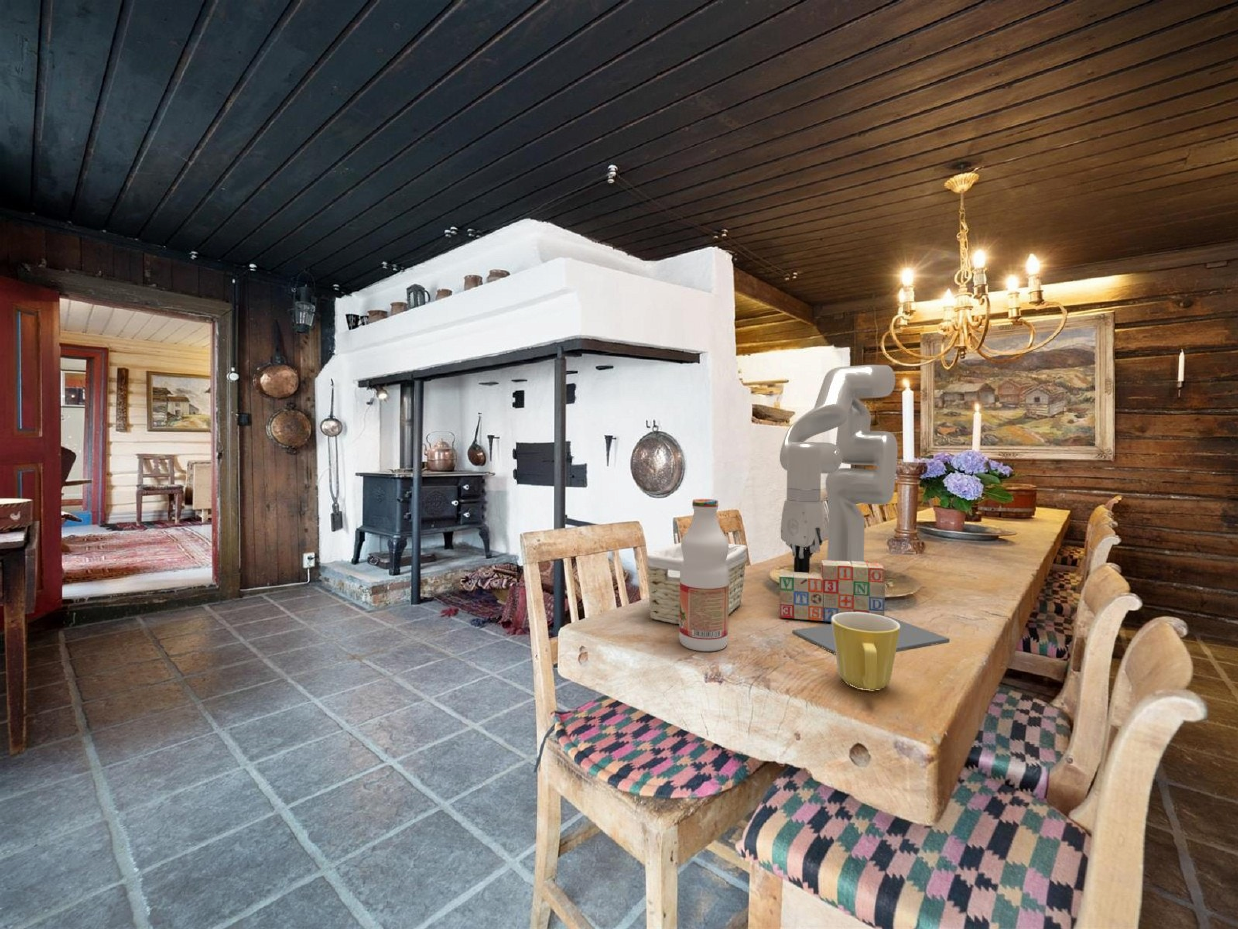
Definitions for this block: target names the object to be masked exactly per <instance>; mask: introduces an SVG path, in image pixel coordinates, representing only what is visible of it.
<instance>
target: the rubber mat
mask: <svg viewBox="0 0 1238 929" xmlns="http://www.w3.org/2000/svg"><path fill="white" fill-rule="evenodd" d="M884 616H885V617H887V618H890V619H892V620H895V621H896V622H898V623H899V624H900V632H899V638H898V644H897V649H896V652H898V651H897V650H901V651H906V650H905V649H907V650H910V649H909V648H912V649H914V648H913V647H918V648H922V646H923V647H927V646H928V645H929V646H932V645H931V644H934V645H937V644H936V643H940V644H944V643H945V644H946V643H949V641H950V638H948V637H946V636H943V635H941V634H937V633H935V632H933V631H930V630H927V629H925V628H923V627H919V626H917V625H913V624H911V623H908V622H905V621H902V620H900V619H898V618H894V617H891V616H889V615H884ZM791 631H792V634H794V635H795V636H797V637H800V638H801V639H804V640H806V641H807V640H808V641H807V642H808V643H811V644H813V643H814V644H813V645H815V644H816V645H815V646H817V645H818V647H819V646H820V647H819V648H821V647H823V648H825V649H826V651H827V650H829V651H831V652H833V653H835V654H836V652H835V645H834V638H833V631H832V623H830V624H824V625H819V626H811V627H806V628H805V627H804V628H797V629H793V630H792V629H791ZM926 645H927V646H926ZM823 648H822V649H823ZM825 649H824V650H825ZM829 651H828V652H829ZM831 652H830V653H831ZM833 653H832V654H833ZM835 654H834V655H835Z"/></svg>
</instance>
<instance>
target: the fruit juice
mask: <svg viewBox="0 0 1238 929" xmlns="http://www.w3.org/2000/svg"><path fill="white" fill-rule="evenodd" d="M691 505H692V509H693V515H692V518H691V522H690V525H689V527H688V530H687V531H686V532H685V534H684V535H683V537H682V539H681V542H680V543H681V551H682V555H683V563H682V566H681V570H680V617H679V624H678V625H679V627H678V628H679V630H678V631H679V633H678V638H679V643H680V644H681V645H682V646H683V647H684V648H687V649H690V650H693V651H696V652H716V651H721V650H723V649H725V648H726V647H727V645H728V642H729V614H728V610H729V571H728V567H727V565H726V558H727V555H728V551H729V544H730V543H729V541H728V538H727V536H726V535H725V533H724V532H723V530H722V527H721V526H720V522H719V518H718V515H717V514H718V513H717V510H718V509H719V500H717V499H713V498H696V499H693V500H692V504H691Z"/></svg>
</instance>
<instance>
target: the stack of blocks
mask: <svg viewBox="0 0 1238 929" xmlns="http://www.w3.org/2000/svg"><path fill="white" fill-rule="evenodd" d="M820 563H821V566H820V573H817V572H809V573H803V572H794V571H782V570H779V575H778V577H779V579H778V580H779V581H778V582H779V584H778V586H779V587H778V588H779V589H778V590H779V591H778V592H779V593H778V596H779V597H778V598H779V599H778V601H779V609H778V610H779V612H778V613H779V618H783V619H784V618H786V619H795V620H809V621H821V622H822V621H823V622H831V618H832V616H834V615H835V614H838V613H844V612H862V613H870V614H876V615H880V616H884V617H885V616H886V615H885V603H886V602H885V600H886V599H885V597H886V583H885V568H884V566H883V565H882V564H881V563H880V562H865V561H864V562H860V561H850V562H849V561H828V560H827V559H824V560H823V559H822V560H820Z"/></svg>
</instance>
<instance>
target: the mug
mask: <svg viewBox="0 0 1238 929" xmlns="http://www.w3.org/2000/svg"><path fill="white" fill-rule="evenodd" d="M884 616H885V615H884ZM884 616H880V615H876V614H870V613H862V612H844V613H838V614H835V615H834V616H832V618H831V621H830V624H832V631H833V638H834V645H835V652H836V655H835V657H836V668H837V672H838V674H839V676H840V677H841V679H842V680H843V681H844V682H845V683H846V682H847V683H848V684H851V685H853V686H855V687H857V688H863V689H870V690H876V689H881V688H883V689H884V688H885V687H886V686H888V685H889V683H890V682H891V680H892V675H893V674H892V673H893V668H894V663H895V657H896V653H897V651H896V649H897V644H898V638H899V632H900V624H899V623H898V622H896V621H895V620H892V619H890V618H887V617H884ZM848 684H847V685H848ZM881 690H882V689H881Z"/></svg>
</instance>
